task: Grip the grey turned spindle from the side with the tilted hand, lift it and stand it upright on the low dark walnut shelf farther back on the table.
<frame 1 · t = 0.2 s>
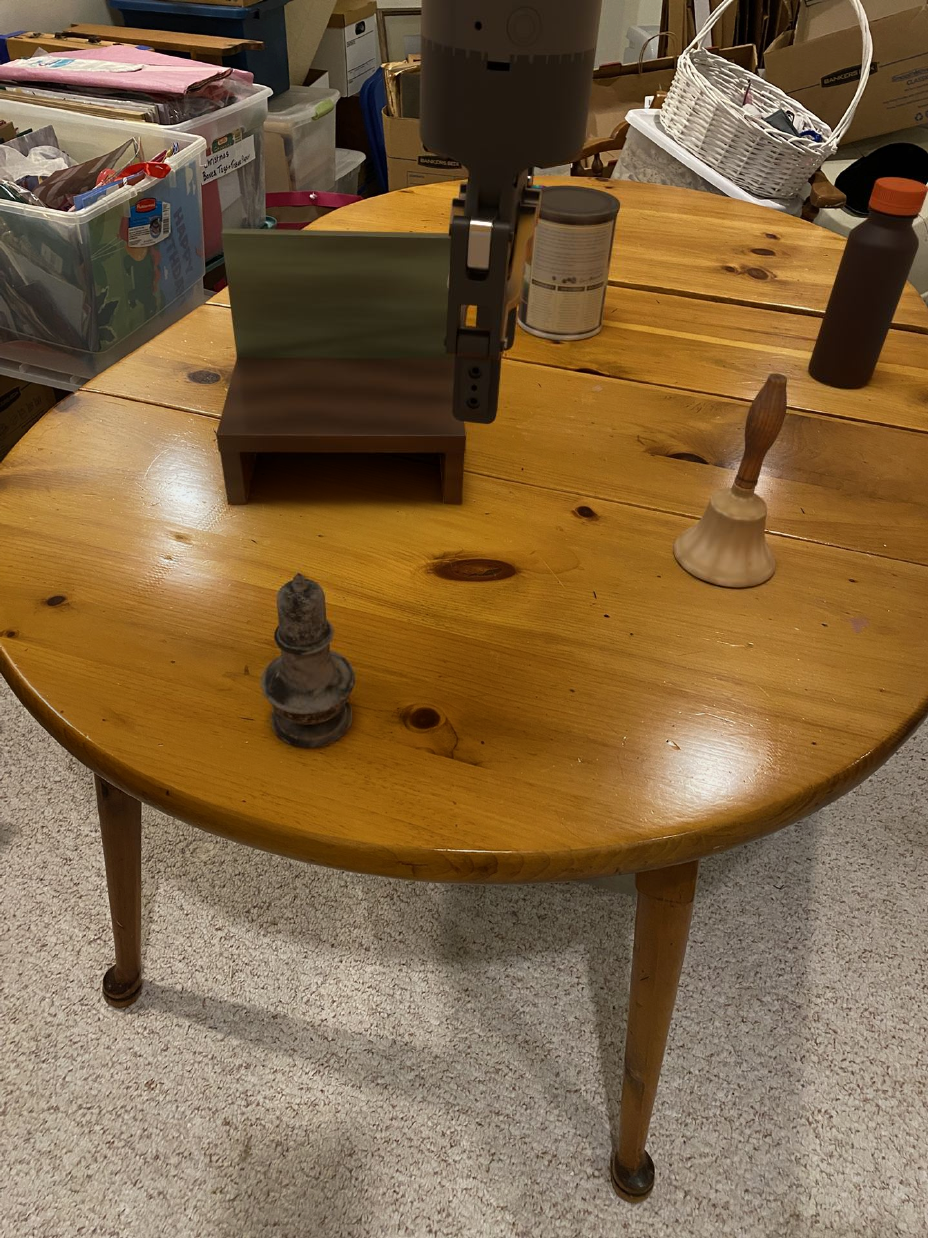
hand: (484, 380, 50), 22 cm above the table, tool pointing down, fingers open, 8 cm apart
hand bell: (723, 559, 76), on the table
bottle: (837, 376, 103), on the table
grey turned spindle: (312, 719, 60), on the table
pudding: (533, 228, 136), on the table
coffee can: (558, 324, 110), on the table
shelf: (348, 464, 84), on the table
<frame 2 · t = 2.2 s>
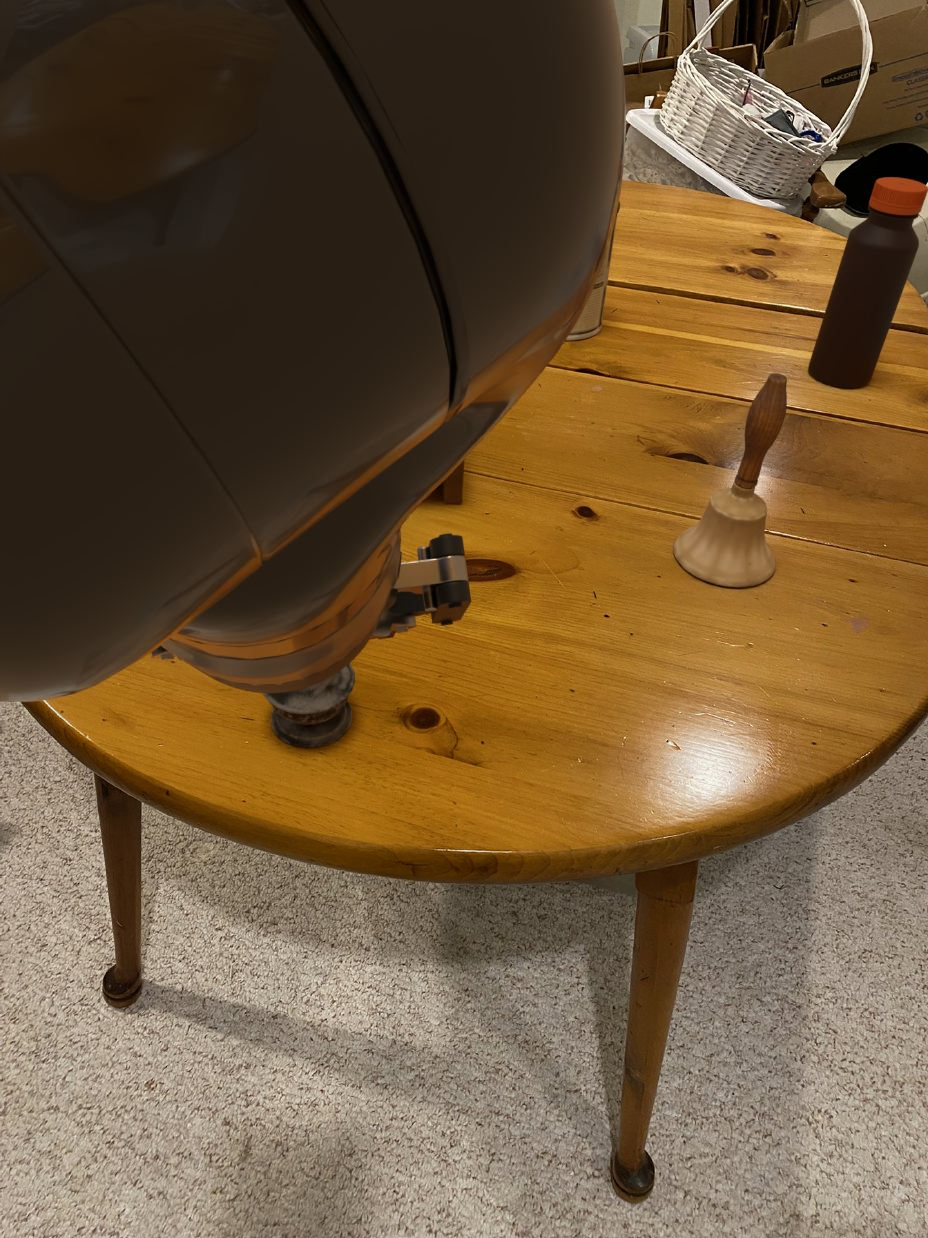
hand: (288, 627, 42), 17 cm above the table, tool tilted 40°, fingers open, 8 cm apart
nothing on the table moved.
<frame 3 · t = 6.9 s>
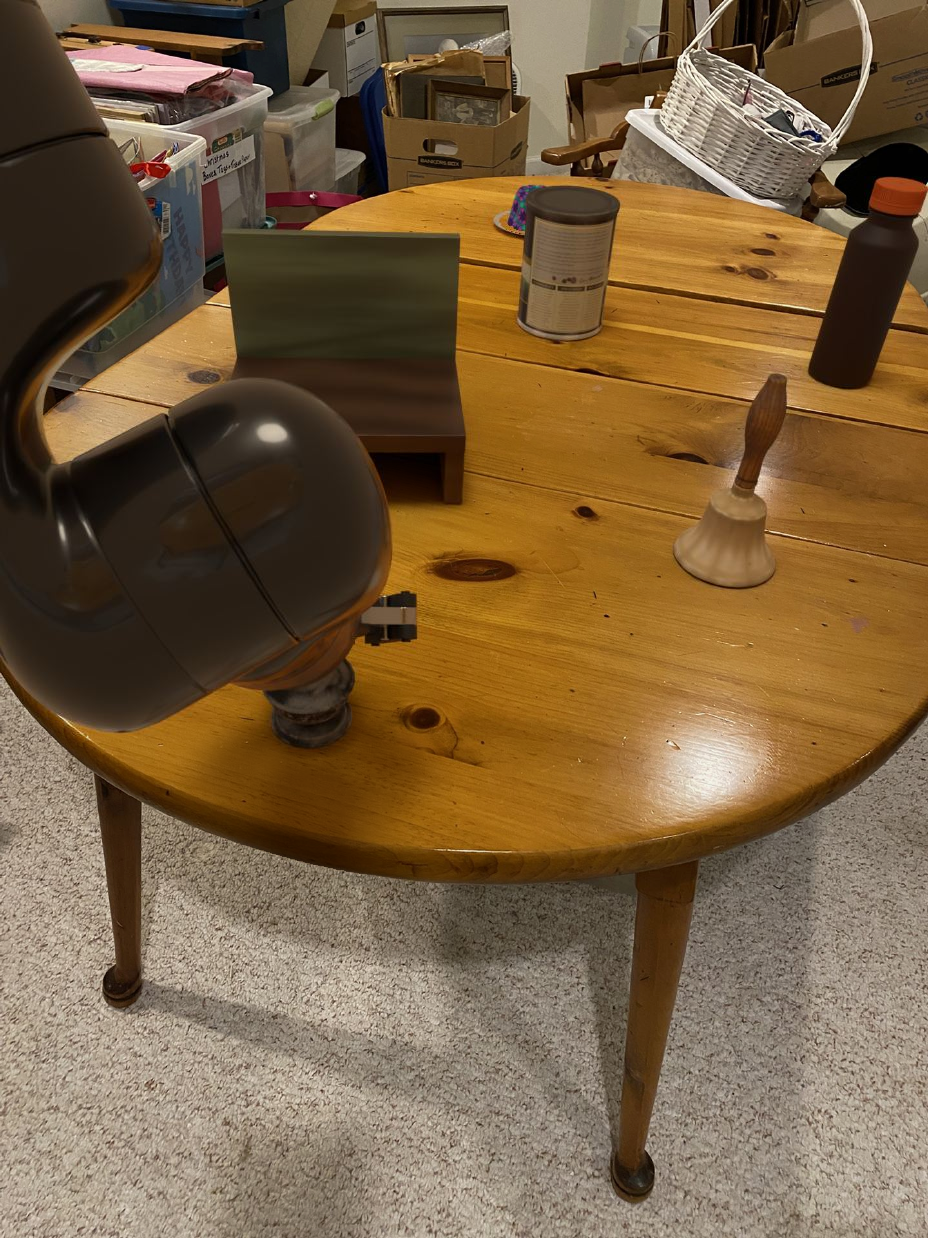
hand: (307, 628, 58), 6 cm above the table, tool tilted 45°, fingers closed on grey turned spindle, 3 cm apart
grey turned spindle: (311, 719, 60), on the table, touching gripper
everything else where it was.
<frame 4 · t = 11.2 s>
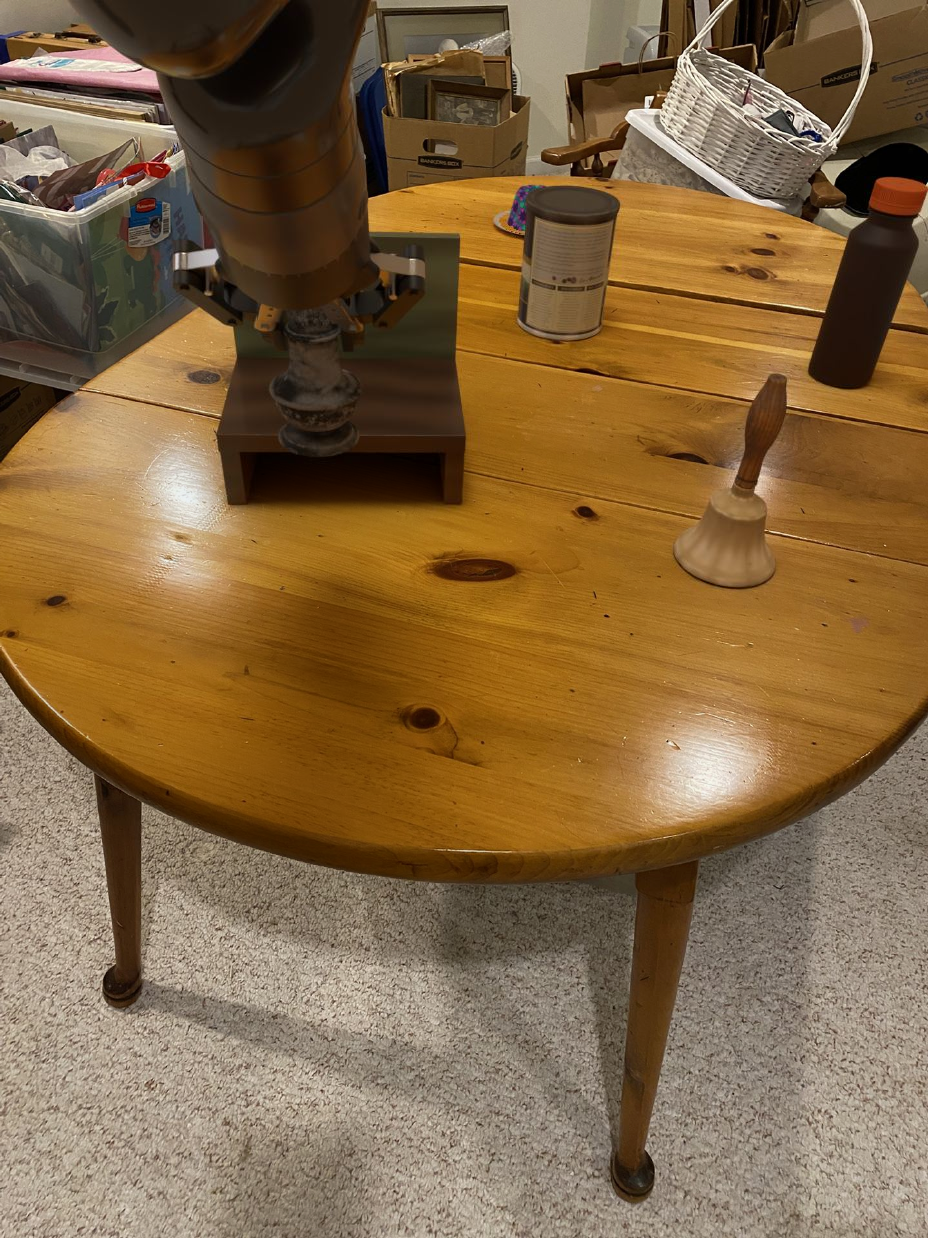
hand: (315, 336, 58), 20 cm above the table, tool tilted 45°, fingers closed on grey turned spindle, 3 cm apart
grey turned spindle: (319, 438, 61), point 14 cm above the table, touching gripper
everything else where it was.
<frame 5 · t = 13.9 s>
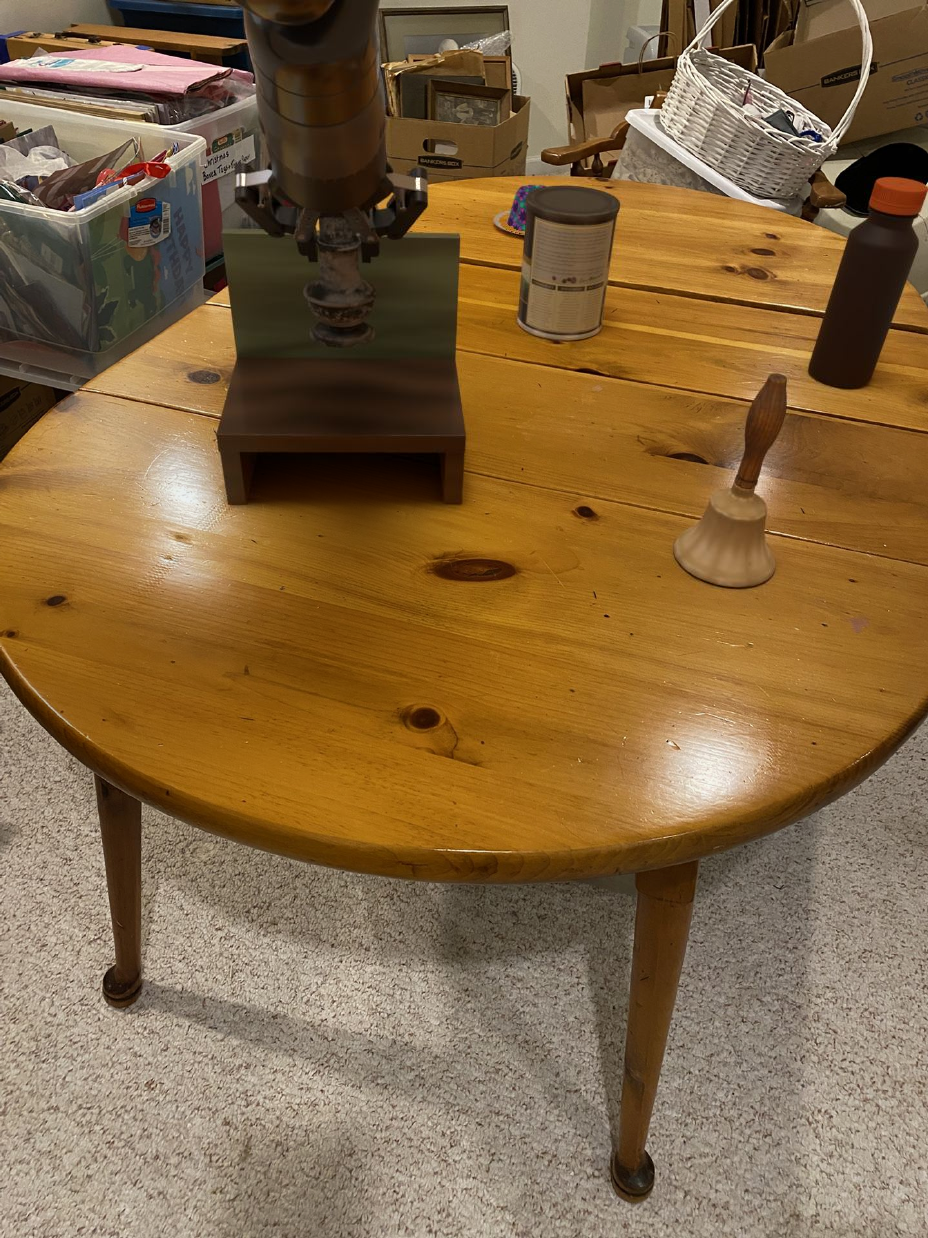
hand: (339, 250, 73), 19 cm above the table, tool tilted 45°, fingers closed on grey turned spindle, 3 cm apart
grey turned spindle: (342, 336, 76), point 12 cm above the table, touching gripper
everything else where it was.
when the fingers open (13 cm above the table, at t = 15.8 s): grey turned spindle stays where it is, resting on shelf.
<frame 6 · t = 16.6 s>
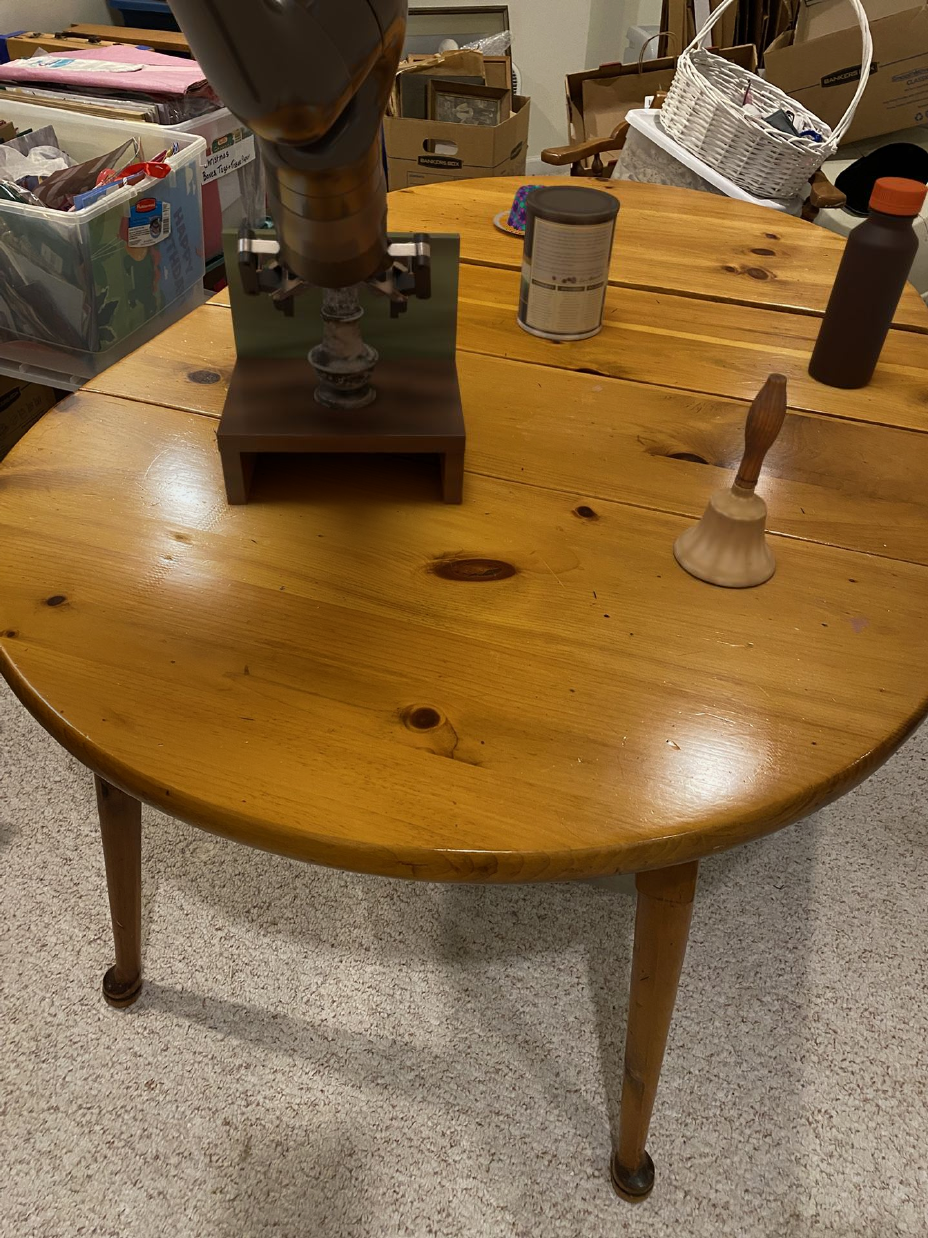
hand: (341, 306, 76), 14 cm above the table, tool tilted 45°, fingers open, 8 cm apart
grey turned spindle: (345, 396, 79), point 7 cm above the table, touching shelf
everything else where it was.
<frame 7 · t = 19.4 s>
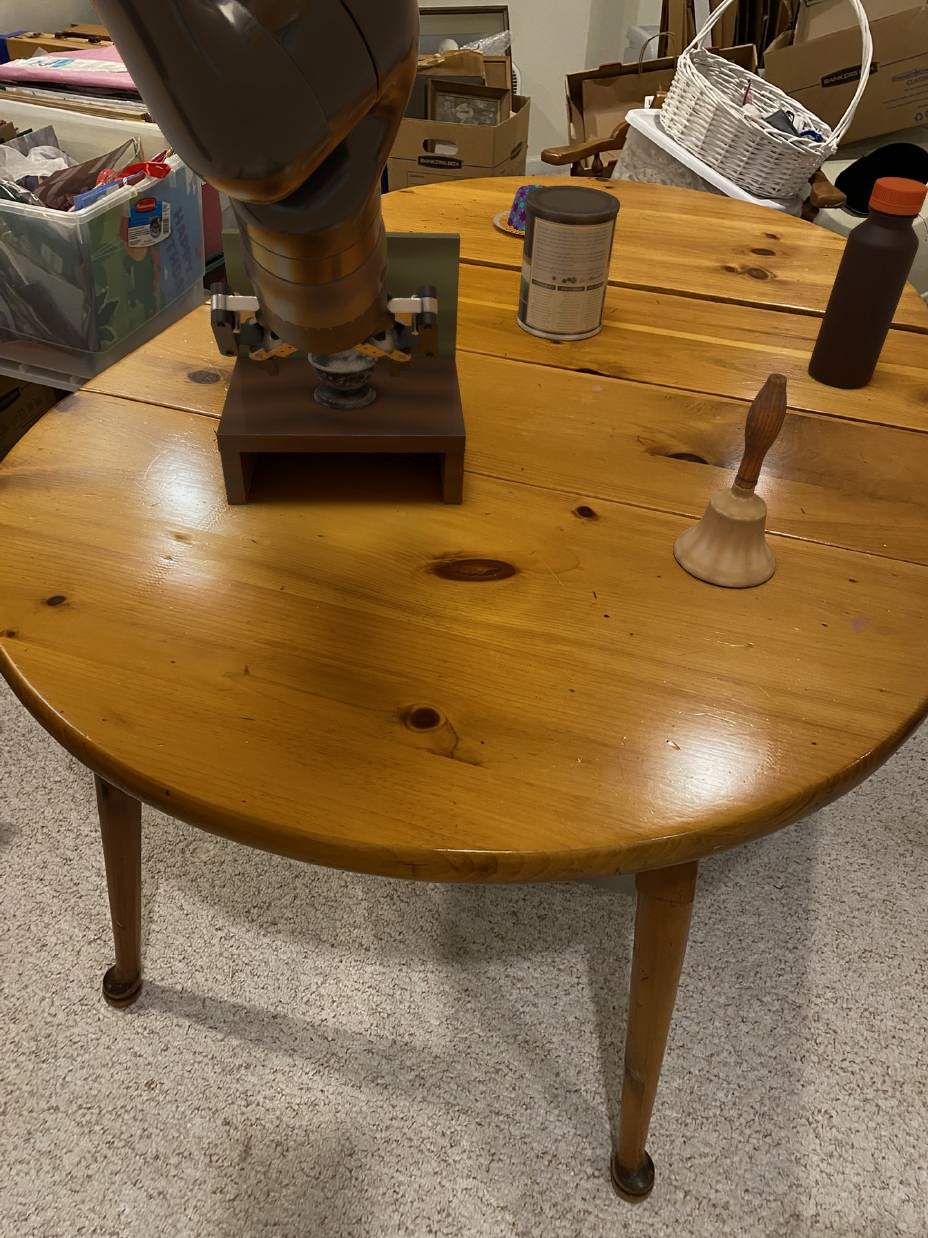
hand: (334, 362, 66), 15 cm above the table, tool tilted 45°, fingers open, 8 cm apart
nothing on the table moved.
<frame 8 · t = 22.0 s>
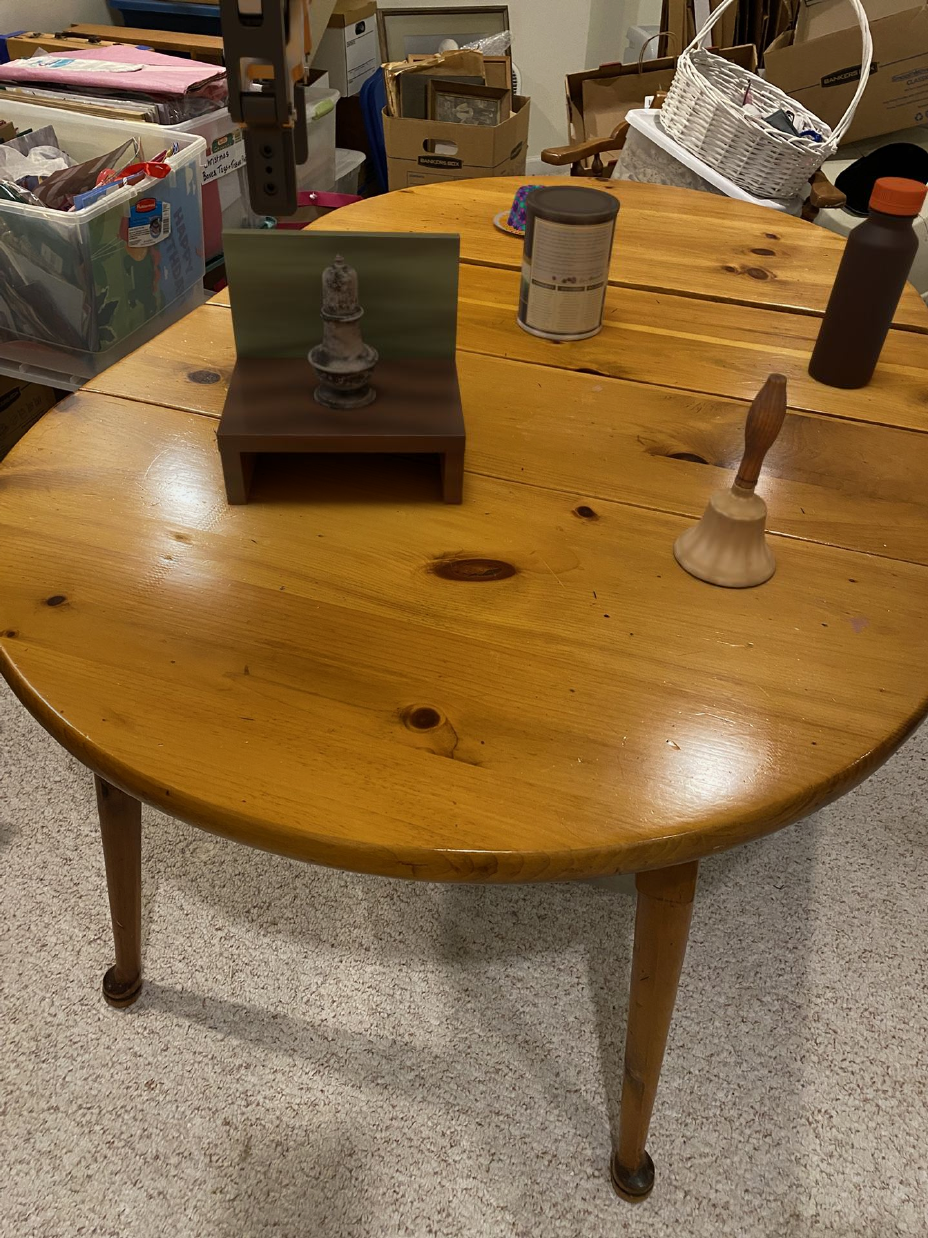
hand: (282, 186, 48), 30 cm above the table, tool pointing down, fingers open, 8 cm apart
nothing on the table moved.
at the end: grey turned spindle inside the target area on the shelf (0.1 cm from its centre), point 6.8 cm above the shelf's base; grey turned spindle tilted 0°; the gripper is holding nothing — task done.
